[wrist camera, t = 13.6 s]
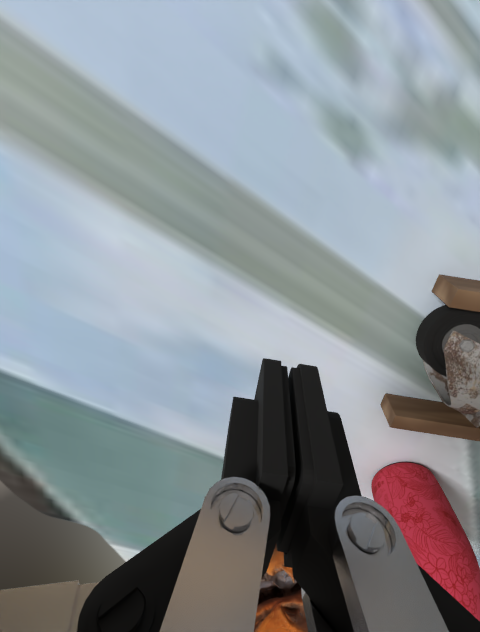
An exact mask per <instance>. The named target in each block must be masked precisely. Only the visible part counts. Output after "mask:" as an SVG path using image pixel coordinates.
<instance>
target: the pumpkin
mask: <svg viewBox="0 0 480 632" xmlns="http://www.w3.org/2000/svg"><path fill="white" fill-rule="evenodd" d="M254 632H308V628H307V623H306V617H305V612H304V607H303V602H302V592H301V586H300V585H299V584H298V583H297V581H296V580H295V579H294V578H293V572H292V568H290V567H284V552H279V551H277V547H276V546H275V549H274V552H273V554H272V557H271V560H270V563H269V566H268V569H267V572H266V573H265V574H264V575H263V576H262V577H261V584H260V591H259V598H258V605H257V612H256V619H255V626H254Z"/></svg>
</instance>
